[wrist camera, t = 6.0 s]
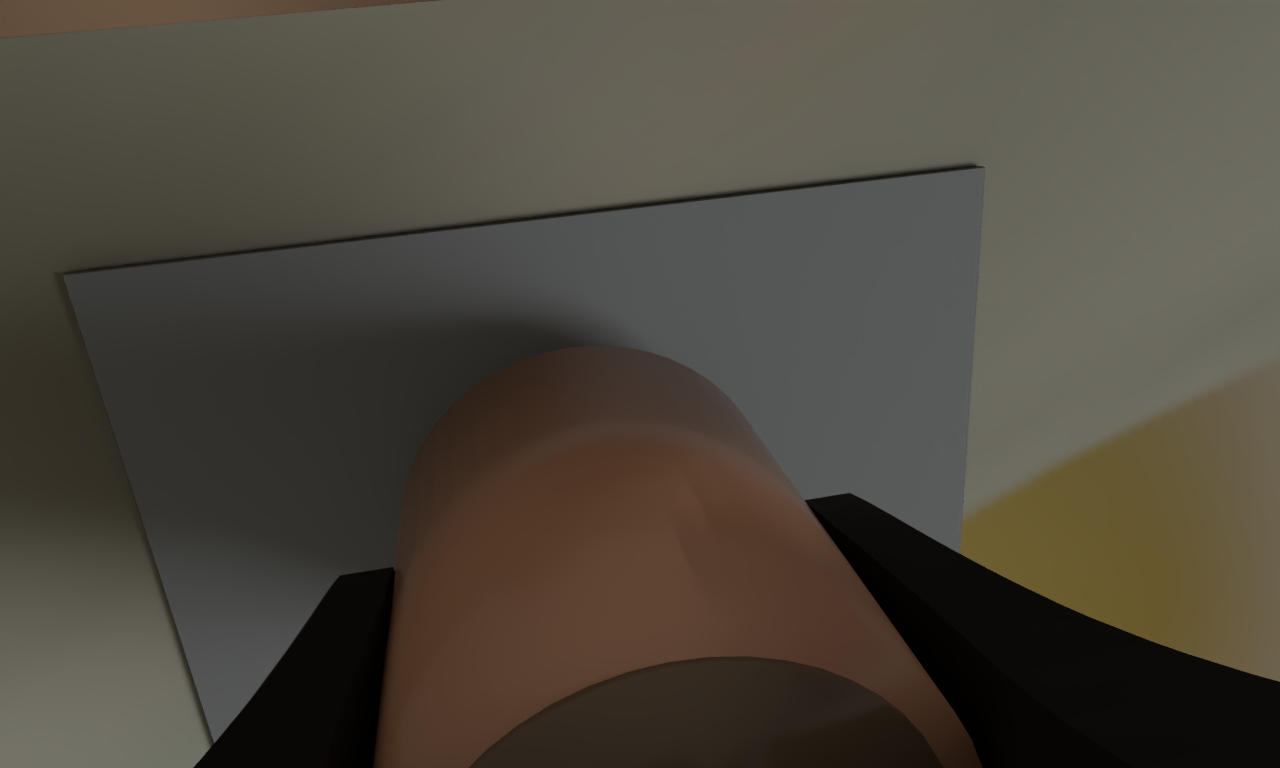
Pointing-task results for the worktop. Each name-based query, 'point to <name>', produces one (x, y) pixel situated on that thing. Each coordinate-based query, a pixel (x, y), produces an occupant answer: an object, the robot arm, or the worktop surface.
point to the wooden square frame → (147, 12)
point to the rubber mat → (498, 337)
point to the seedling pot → (633, 592)
